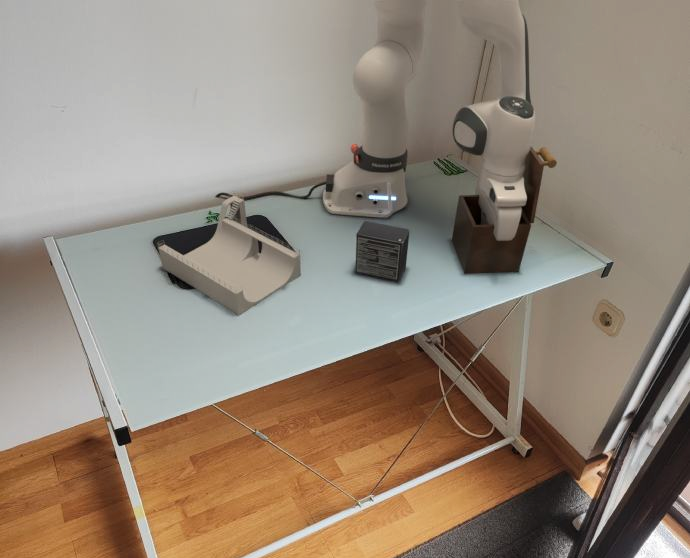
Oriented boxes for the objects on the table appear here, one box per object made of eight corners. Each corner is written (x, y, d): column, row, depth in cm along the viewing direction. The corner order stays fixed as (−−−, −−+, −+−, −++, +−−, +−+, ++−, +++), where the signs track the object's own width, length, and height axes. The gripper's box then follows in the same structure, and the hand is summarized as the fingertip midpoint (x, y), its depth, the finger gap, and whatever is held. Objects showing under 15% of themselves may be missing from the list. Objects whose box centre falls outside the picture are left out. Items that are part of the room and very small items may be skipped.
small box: (407, 267, 132) (411, 227, 125) (399, 284, 128) (403, 243, 121) (362, 258, 135) (364, 218, 128) (353, 274, 130) (355, 233, 123)
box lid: (540, 164, 114) (565, 161, 114) (519, 135, 124) (542, 133, 124) (530, 223, 123) (553, 221, 123) (511, 192, 133) (533, 190, 133)
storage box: (464, 274, 131) (473, 226, 123) (451, 241, 141) (459, 195, 133) (518, 272, 132) (531, 225, 124) (502, 239, 142) (512, 193, 134)
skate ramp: (163, 268, 131) (153, 229, 124) (238, 227, 144) (233, 190, 137) (239, 315, 119) (233, 275, 112) (313, 266, 132) (312, 228, 125)
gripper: (474, 158, 131) (464, 212, 140) (499, 203, 116) (486, 261, 125) (501, 157, 131) (490, 211, 140) (530, 203, 116) (514, 260, 126)
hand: (488, 235), depth 133 cm, fingers open, 6 cm apart
